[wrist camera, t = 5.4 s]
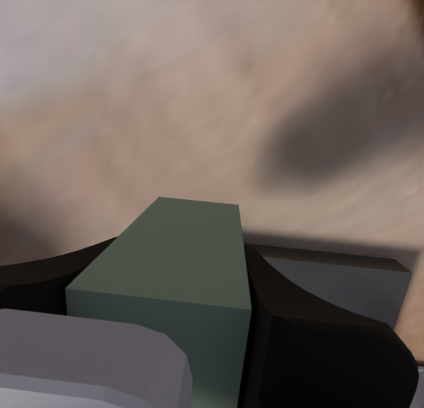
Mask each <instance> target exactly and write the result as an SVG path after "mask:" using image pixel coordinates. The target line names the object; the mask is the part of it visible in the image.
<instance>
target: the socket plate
mask: <svg viewBox="0 0 424 408" xmlns="http://www.w3.org/2000/svg"><path fill="white" fill-rule="evenodd" d="M243 244H244V245H251V246H252V247H253V248H254V249H255V250H256V251H257V252H258V253H259V254H260V255H261V256H262V257H263V258H264V259H265V260H266V261H267V262H268V263H269V264H271V265H272V266H273V267H274V268H275V269H276V270H277V271H279V272H280V273H281V274H282V275H284V276H285V277H286V278H288V279H289V280H290V281H292V282H293V283H295V284H296V285H298V286H299V287H301V288H303V289H304V290H306V291H308V292H310V293H312V294H313V295H315V296H317V297H319V298H321V299H323V300H325V301H327V302H329V303H332V304H334V305H336V306H339V307H341V308H344V309H346V310H348V311H351V312H354V313H357V314H360V315H363V316H366V317H369V318H372V319H375V320H378V321H381V322H384V323H387V324H388V325H389V326H390V327H391V328H392V329H394V326H395V323H396V320H397V317H398V314H399V311H400V308H401V305H402V302H403V299H404V296H405V293H406V290H407V287H408V284H409V281H410V278H411V275H412V272H410V271H409V270H408V269H407V268H405V267H404V266H403V265H402V264H400V263H399V262H398V261H396V260H395V259H386V258H376V257H367V256H357V255H348V254H339V253H329V252H320V251H310V250H301V249H292V248H282V247H273V246H263V245H254V244H245V243H243Z"/></svg>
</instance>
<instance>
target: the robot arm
mask: <svg viewBox="0 0 424 408" xmlns="http://www.w3.org/2000/svg"><path fill="white" fill-rule="evenodd" d="M117 237H118V236H117ZM117 237H115V238H112V239H109V240H107V241H104V242H101V243H98V244H96V245H93V246H90V247H87V248H84V249H81V250H78V251H75V252H71V253H68V254H64V255H60V256H56V257H52V258H47V259H43V260H37V261H31V262H25V263H20V264H13V265H5V266H0V408H191V405H190V403H191V392H192V381H193V379H192V375H191V371H190V367H189V363H188V359H187V355H186V354H185V353H184V352H183V351H182V350H181V349H180V348H179V347H178V346H177V345H176V344H175V343H174V342H173V341H172V340H171V339H170V338H169V337H168V336H167V335H166V334H163V333H160V332H157V331H154V330H151V329H149V328H146V327H143V326H140V325H137V324H131V323H122V322H114V321H106V320H97V319H89V318H80V317H72V316H67V306H66V292H65V288H66V287H67V286H68V285H69V284H70V283H71V282H72V281H73V280H74V279H75V278H76V277H77V276H78V275H79V274H80V273H81V272H82V271H83V270H84V269H85V268H87V267H88V266H89V265H90V264H91V263H92V262H93V261H94V260H95V259H96V258H97V257H98V256H99V255H100V254H101V253H102V252H103V251H104V250H105V249H106V248H107V247H108V246H109V245H110V244H111V243H112V242H113V241H114V240H115V239H116V238H117ZM244 252H245V260H246V268H247V276H248V284H249V292H250V300H251V308H252V311H251V317H250V324H249V331H248V337H247V344H246V350H245V357H244V363H243V370H242V377H241V383H240V390H239V396H238V403H237V408H424V367H423V366H418V364H417V362H416V360H415V358H414V357H413V355H412V353H411V351H410V350H409V349H408V348H407V346H406V345H405V344H404V343H403V342H402V340H401V339H400V338H399V337H398V335H397V334H396V333H395V332H394V331H393V329H392V328H391V327H390V326H389V325H388V324H387V323H384V322H381V321H378V320H375V319H372V318H369V317H366V316H363V315H360V314H357V313H354V312H351V311H348V310H346V309H344V308H341V307H339V306H336V305H334V304H332V303H329V302H327V301H325V300H323V299H321V298H319V297H317V296H315V295H313V294H312V293H310V292H308V291H306V290H304V289H303V288H301V287H299V286H298V285H296V284H295V283H293V282H292V281H290V280H289V279H288V278H286V277H285V276H284V275H282V274H281V273H280V272H279V271H277V270H276V269H275V268H274V267H273V266H272V265H271V264H269V263H268V262H267V261H266V260H265V259H264V258H263V257H262V256H261V255H260V254H259V253H258V252H257V251H256V250H255V249H254V248H253V247H252V246H251V245H244Z"/></svg>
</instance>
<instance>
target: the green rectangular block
mask: <svg viewBox="0 0 424 408" xmlns="http://www.w3.org/2000/svg"><path fill="white" fill-rule="evenodd" d="M65 292H66V306H67V316H72V317H80V318H89V319H97V320H106V321H114V322H122V323H131V324H137V325H140V326H143V327H146V328H149V329H151V330H154V331H157V332H160V333H163V334H166V335H167V336H168V337H169V338H170V339H171V340H172V341H173V342H174V343H175V344H176V345H177V346H178V347H179V348H180V349H181V350H182V351H183V352H184V353H185V354H186V355H187V359H188V363H189V367H190V371H191V375H192V379H193V381H192V392H191V403H190V405H191V408H237V403H238V396H239V390H240V383H241V377H242V370H243V363H244V357H245V350H246V344H247V337H248V331H249V324H250V317H251V311H252V308H251V300H250V292H249V284H248V276H247V268H246V260H245V252H244V244H243V236H242V228H241V220H240V212H239V205H234V204H224V203H214V202H204V201H194V200H185V199H175V198H165V197H158V198H157V199H156V200H155V201H154V202H153V203H152V204H151V205H150V206H149V207H148V208H147V209H146V210H145V211H144V212H143V213H142V214H141V215H140V216H139V217H138V218H137V219H136V220H135V221H134V222H133V223H132V224H131V225H130V226H129V227H128V228H127V229H126V230H125V231H124V232H122V233H121V234H120V235H119V236H118V237H117V238H116V239H115V240H114V241H113V242H112V243H111V244H110V245H109V246H108V247H107V248H106V249H105V250H104V251H103V252H102V253H101V254H100V255H99V256H98V257H97V258H96V259H95V260H94V261H93V262H92V263H91V264H90V265H89V266H88V267H87V268H85V269H84V270H83V271H82V272H81V273H80V274H79V275H78V276H77V277H76V278H75V279H74V280H73V281H72V282H71V283H70V284H69V285H68V286H67V287H66V288H65Z"/></svg>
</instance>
